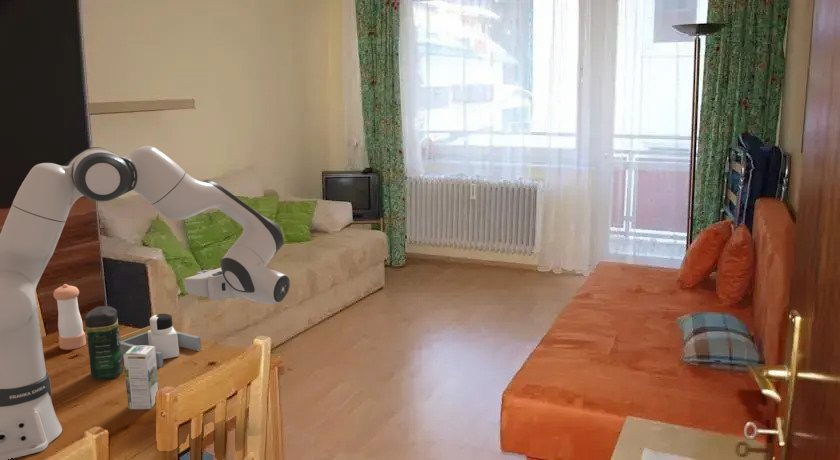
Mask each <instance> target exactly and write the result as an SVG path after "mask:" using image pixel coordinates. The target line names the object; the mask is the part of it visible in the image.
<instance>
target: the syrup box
mask: <svg viewBox="0 0 840 460" xmlns="http://www.w3.org/2000/svg"><path fill="white" fill-rule="evenodd" d="M122 358H123V369H124V376H125V385H126V386H125V387H126V397H127V409H129V410H152V408H154V406H155V405H156V404H155V396H156V392H157V391H158V390H159V389H160V388H159V387H160V385H159V377H158V375H159V374H158V367H157V364H156V353H155V347H154V346H149V345H148V346H147V345H139V346H133V347H132V348H130V349H129V350H128V351H127V352H126V353H125V354H124V355H123V357H122ZM159 391H160V390H159Z"/></svg>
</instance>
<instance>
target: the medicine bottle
mask: <svg viewBox="0 0 840 460" xmlns="http://www.w3.org/2000/svg"><path fill="white" fill-rule="evenodd" d="M149 323H150V324H149V326H150V328H151V330H149V331H148V341H149V345H148V346H154V347H155V351H158V352H162V356H163V360H166V359H172V358H177V357H179V356H180V349H179V348H180V346H178V337H177V333H176V331H177V330H176V329H175V328H174V325H173V316H172V315H171V314H168V313H157V314H154V315H152V316H150V318H149Z"/></svg>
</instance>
